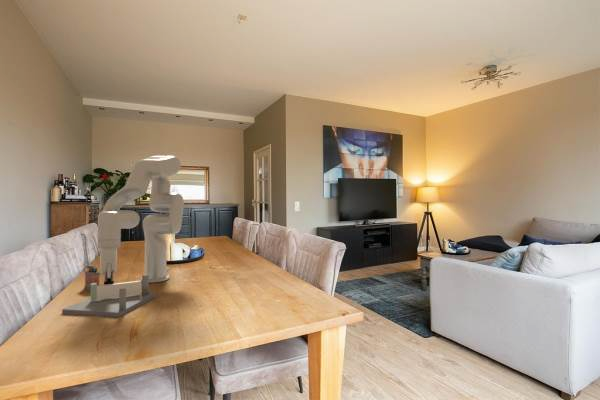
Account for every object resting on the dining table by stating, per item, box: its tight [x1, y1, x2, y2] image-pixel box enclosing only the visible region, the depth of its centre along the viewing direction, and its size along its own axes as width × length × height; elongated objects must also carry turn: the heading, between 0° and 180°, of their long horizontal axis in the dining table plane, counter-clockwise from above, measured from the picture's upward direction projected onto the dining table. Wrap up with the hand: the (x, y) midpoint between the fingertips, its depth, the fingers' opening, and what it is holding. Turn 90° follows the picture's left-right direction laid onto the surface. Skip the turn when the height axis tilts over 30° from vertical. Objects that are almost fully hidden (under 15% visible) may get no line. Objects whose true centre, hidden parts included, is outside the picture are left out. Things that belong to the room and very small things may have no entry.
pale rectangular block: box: [90, 280, 142, 301], centre depth 115 cm, size 16×2×6 cm, turn 122°
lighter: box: [84, 264, 100, 291], centre depth 131 cm, size 8×3×10 cm, turn 65°
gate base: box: [61, 274, 157, 318], centre depth 112 cm, size 21×21×9 cm
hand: (108, 291), depth 116 cm, fingers closed
